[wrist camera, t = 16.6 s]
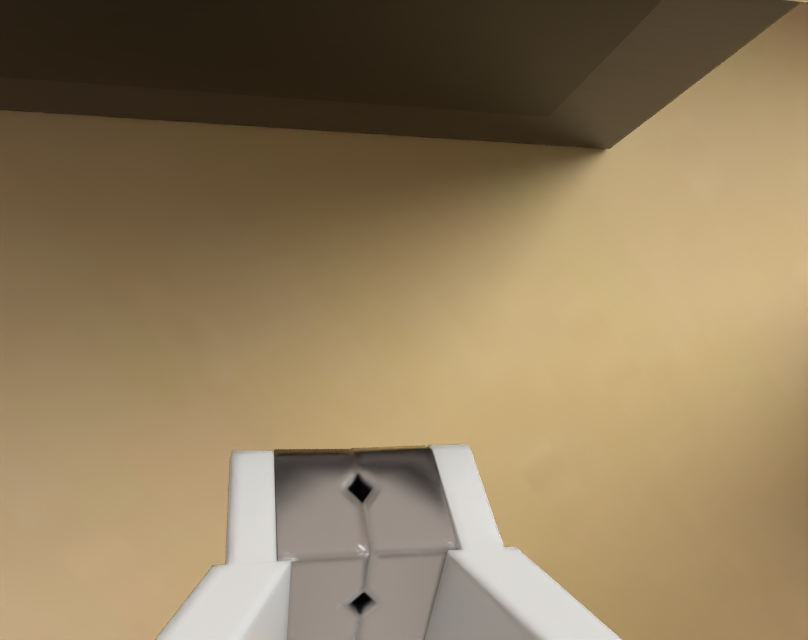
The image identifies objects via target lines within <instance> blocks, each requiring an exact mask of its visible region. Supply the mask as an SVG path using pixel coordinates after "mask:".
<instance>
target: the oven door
mask: <svg viewBox="0 0 808 640" xmlns="http://www.w3.org/2000/svg"><path fill="white" fill-rule="evenodd" d="M801 2H806V3H808V0H0V110H15V111H31V112H46V113H62V114H77V115H93V116H109V117H124V118H140V119H155V120H171V121H186V122H202V123H218V124H233V125H249V126H264V127H280V128H296V129H311V130H327V131H342V132H358V133H373V134H389V135H405V136H420V137H436V138H451V139H467V140H483V141H498V142H514V143H529V144H545V145H561V146H576V147H592V148H607V149H610V148H611V147H613V146H614V145H615V144H616V143H618V142H619V141H620V140H622V139H623V138H624V137H626V136H627V135H628V134H630V133H631V132H632V131H633V130H635V129H636V128H637V127H639V126H640V125H641V124H643V123H644V122H645V121H647V120H648V119H649V118H650V117H652V116H653V115H654V114H656V113H657V112H658V111H660V110H661V109H662V108H664V107H665V106H666V105H667V104H669V103H670V102H671V101H673V100H674V99H675V98H677V97H678V96H679V95H681V94H682V93H683V92H684V91H686V90H687V89H688V88H690V87H691V86H692V85H694V84H695V83H696V82H697V81H699V80H700V79H701V78H703V77H704V76H705V75H707V74H708V73H709V72H711V71H712V70H713V69H714V68H716V67H717V66H718V65H720V64H721V63H722V62H724V61H725V60H726V59H728V58H729V57H730V56H731V55H733V54H734V53H735V52H737V51H738V50H739V49H741V48H742V47H743V46H745V45H746V44H747V43H748V42H750V41H751V40H752V39H754V38H755V37H756V36H758V35H759V34H760V33H762V32H763V31H764V30H765V29H767V28H768V27H769V26H771V25H772V24H773V23H775V22H776V21H777V20H779V19H780V18H781V17H782V16H784V15H785V14H786V13H788V12H789V11H790V10H792V9H793V8H794V7H795V6H797V5H798V4H799V3H801Z"/></svg>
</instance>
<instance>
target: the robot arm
mask: <svg viewBox="0 0 808 640" xmlns="http://www.w3.org/2000/svg"><path fill="white" fill-rule="evenodd" d="M155 640H622V639H621V638H620V637H618V636H617V635H616V634H615V633H614V632H613V631H612V630H610V629H609V628H608V627H607V626H606V625H605V624H604V623H602V622H601V621H600V620H599V619H598V618H597V617H596V616H594V615H593V614H592V613H591V612H590V611H589V610H588V609H586V608H585V607H584V606H583V605H582V604H581V603H580V602H578V601H577V600H576V599H575V598H574V597H573V596H572V595H570V594H569V593H568V592H567V591H566V590H565V589H564V588H562V587H561V586H560V585H559V584H558V583H557V582H556V581H554V580H553V579H552V578H551V577H550V576H549V575H547V574H546V573H545V572H544V571H543V570H542V569H541V568H539V567H538V566H537V565H536V564H535V563H534V562H533V561H531V560H530V559H529V558H528V557H527V556H526V555H525V554H523V553H522V552H521V551H520V550H519V549H518V548H517V547H504V545H503V542H502V539H501V536H500V533H499V530H498V528H497V525H496V522H495V519H494V516H493V513H492V510H491V507H490V504H489V501H488V498H487V495H486V492H485V489H484V486H483V484H482V481H481V478H480V475H479V472H478V469H477V466H476V463H475V460H474V457H473V454H472V451H471V449H470V448H469V447H468V446H467V445H466V444H449V445H429V446H425V445H421V446H397V447H372V448H351V449H275V450H274V454H273V450H235V451H232V453H231V457H230V466H229V489H228V512H227V536H226V559H225V564H224V565H213V566H211V568H210V569H209V570H208V572H207V573H206V574H205V575H204V577H203V578H202V579H201V581H200V582H199V583H198V584H197V586H196V587H195V588H194V590H193V591H192V592H191V594H190V595H189V596H188V597H187V599H186V600H185V601H184V603H183V604H182V605H181V606H180V608H179V609H178V610H177V612H176V613H175V614H174V616H173V617H172V618H171V619H170V621H169V622H168V623H167V625H166V626H165V627H164V628H163V630H162V631H161V632H160V634H159V635H158V636H157V638H156V639H155Z"/></svg>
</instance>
